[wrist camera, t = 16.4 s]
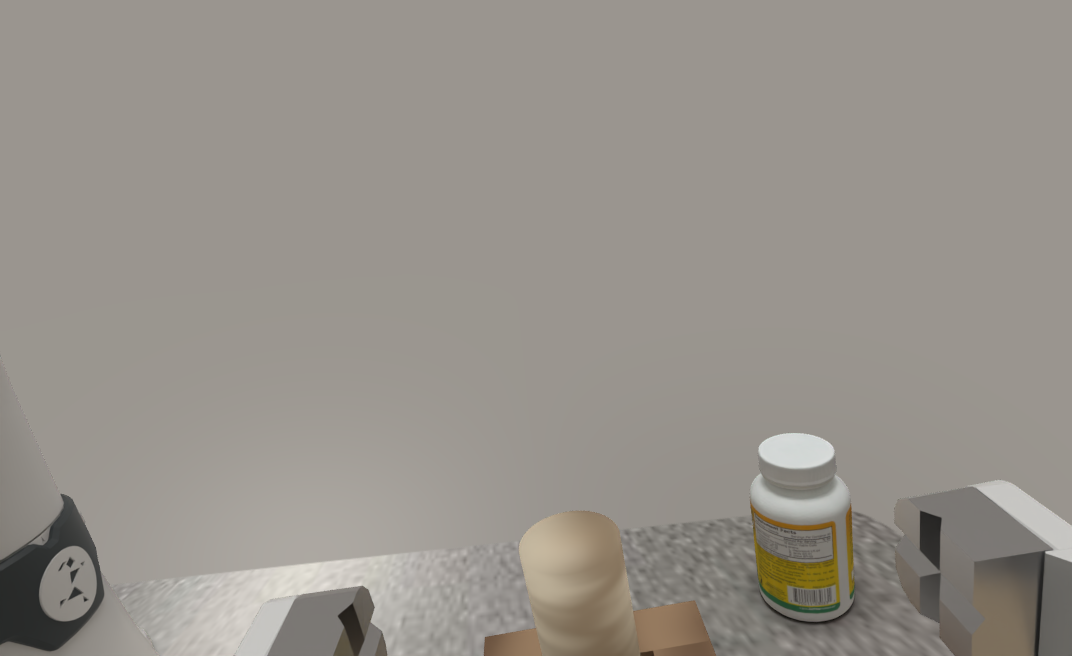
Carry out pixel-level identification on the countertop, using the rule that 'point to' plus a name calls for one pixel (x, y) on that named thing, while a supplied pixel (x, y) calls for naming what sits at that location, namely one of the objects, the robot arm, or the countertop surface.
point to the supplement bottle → (802, 529)
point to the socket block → (663, 632)
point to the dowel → (579, 586)
